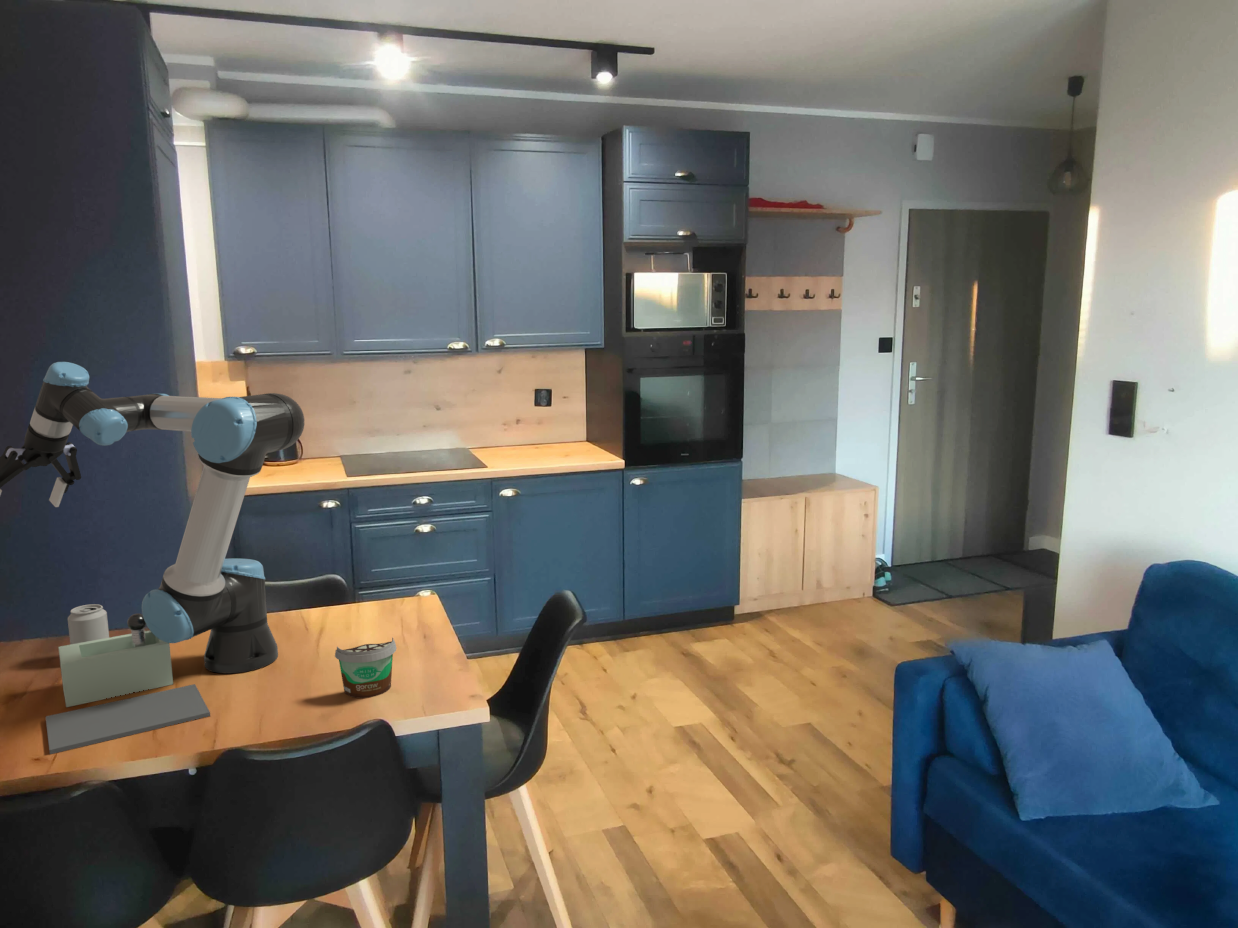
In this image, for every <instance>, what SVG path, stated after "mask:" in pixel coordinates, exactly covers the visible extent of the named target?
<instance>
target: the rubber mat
mask: <svg viewBox="0 0 1238 928" xmlns="http://www.w3.org/2000/svg"><path fill="white" fill-rule="evenodd" d="M208 716H209V717H211V711H210V710H209V708H208V706H207V704H206V702H205V700H204V698H203V696H202V695H201V692H200V690H199V689H198V687H197V685H196V683H195V684H189V685H185V686H180V687H175V688H172V689H167V690H162V691H157V692H152V693H148V694H144V695H143V694H142V695H138V696H134V697H128V698H125V699H121V700H116V701H111V702H106V703H102V704H97V705H92V706H88V707H87V706H86V707H84V708H78V709H74V710H68V711H64V712H60V713H54V714H50V715H46V716H45V725H46V731H47V741H48V750H49V755H52V754H53V755H54V754H57V753H61V752H66V751H70V750H73V749H74V750H75V749H78V748H83V747H87V746H90V745H95V744H99V743H104V742H108V741H112V740H115V739H121V738H125V737H129V736H133V735H137V734H142V733H145V731H146V732H149V731H154V730H158V729H162V727H163V728H166V727H165V726H167V727H171V726H174V724H175V725H178V723H179V724H184V723H186V721H188V722H192V721H196V720H200V719H204V718H203V717H205V718H208ZM199 718H200V719H199ZM195 719H196V720H195ZM191 720H192V721H191ZM183 722H184V723H183ZM170 725H171V726H170Z"/></svg>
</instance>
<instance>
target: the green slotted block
mask: <svg viewBox="0 0 1238 928" xmlns="http://www.w3.org/2000/svg"><path fill="white" fill-rule="evenodd" d="M145 641H146V646H140V647H135V648H133V643H132V633H128V634H121V635H116V636H112V637H111V636H109V638H104V639H99V640H93V641H88V642H82V643H77V644H71V645H70V644H67V645H61V646H58V647H57V648H58V656H59V665H60V673H61V682H62V688H63V696H64V702H65V707H66V708H69V707H74V706H78V705H83V704H87V703H88V704H89V703H92V702H98V701H101V700H106V698H107V699H112V698H115V696H116V697H121V696H125V694H126V695H129V693H130V694H134V693H133V692H135V693H139V691H140V692H144V691H148V689H149V690H153V689H157V688H162V687H168V686H172V685H174V680H173V679H174V678H173V668H172V667H173V666H172V657H171V647H170V646H171V645H170V644H171V643H167V642H164V641H162V640H160V639H158V638H157V637H156V636H155V635H154V634H153V633H152V632H151V631H150V630H145ZM143 690H144V691H143ZM120 695H121V696H120ZM111 697H112V698H111Z"/></svg>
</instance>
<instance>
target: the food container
mask: <svg viewBox="0 0 1238 928" xmlns="http://www.w3.org/2000/svg"><path fill="white" fill-rule="evenodd" d="M391 638H392V639H391V641H387V642H382V643H368V644H367V643H366V644H361V645H358V646H355V647H351V648H347V649H342V648H340V647H339V646H336V649H335V653H334V658H336V659H337V660H338V663H339V669H340V674H341V680H342V686H343V691H344V694H345V695H347V696H349V697H352V698H356V699H357V698H360V699H365V698H366V699H367V698H372V697H377V696H380V695H383V694H385V693H386V692H388V691H389V690H390V689H391V687H392V673H393V661H394V660H393V658H394V654H395V652H396V651H397V645H396V641H395V639H394V637H393V636H392V637H391Z"/></svg>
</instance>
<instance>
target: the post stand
mask: <svg viewBox="0 0 1238 928" xmlns="http://www.w3.org/2000/svg"><path fill="white" fill-rule="evenodd" d="M126 623H127V627H128V629H130V632H131V633H130V634H132V643H133V648H135V647H140V646H146V641H145V631H146V630H145V628H146V627H147V624H146V622H145V621H144V618H143V614H142V613H133V614H131V615H130V616H128V618H127V622H126Z"/></svg>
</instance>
